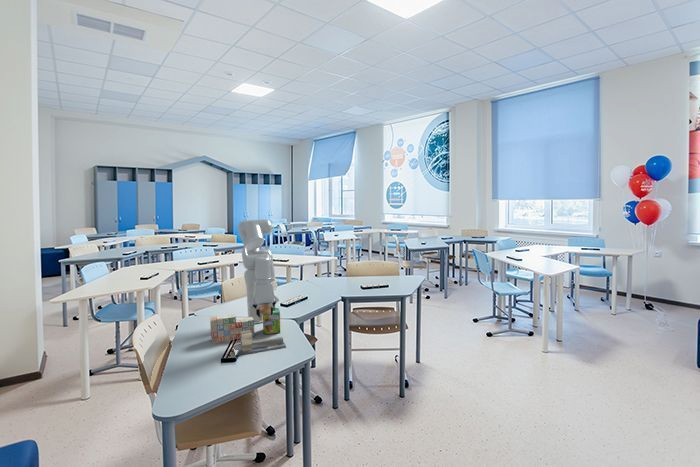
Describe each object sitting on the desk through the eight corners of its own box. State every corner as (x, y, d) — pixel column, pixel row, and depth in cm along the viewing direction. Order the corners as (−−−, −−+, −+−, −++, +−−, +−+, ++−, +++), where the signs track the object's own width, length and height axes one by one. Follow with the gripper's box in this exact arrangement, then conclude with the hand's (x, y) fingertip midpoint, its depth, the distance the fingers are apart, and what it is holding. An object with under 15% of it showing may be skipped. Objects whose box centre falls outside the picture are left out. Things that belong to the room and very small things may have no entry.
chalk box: (263, 335, 200) (262, 308, 198) (263, 329, 209) (261, 303, 207) (281, 333, 202) (279, 306, 201) (279, 327, 211) (278, 301, 209)
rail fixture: (232, 349, 182) (231, 331, 181) (281, 340, 191) (281, 324, 190) (234, 356, 174) (233, 337, 173) (285, 347, 183) (285, 329, 182)
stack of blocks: (253, 333, 203) (252, 311, 202) (254, 337, 197) (253, 314, 196) (211, 339, 196) (209, 316, 194) (211, 343, 190) (210, 320, 189)
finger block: (260, 320, 190) (259, 305, 189) (258, 317, 194) (258, 302, 193) (271, 319, 192) (270, 303, 191) (269, 315, 196) (268, 301, 195)
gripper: (278, 277, 197) (279, 310, 200) (245, 281, 191) (246, 315, 193) (281, 281, 190) (282, 315, 193) (247, 284, 184) (248, 320, 186)
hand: (264, 315), depth 193 cm, fingers closed on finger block, 5 cm apart
